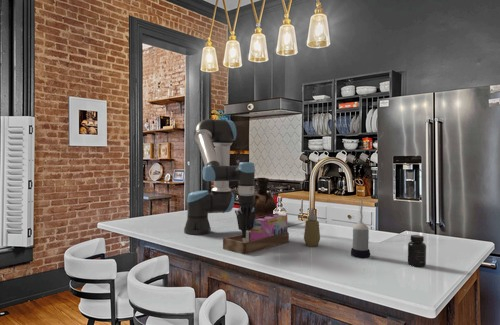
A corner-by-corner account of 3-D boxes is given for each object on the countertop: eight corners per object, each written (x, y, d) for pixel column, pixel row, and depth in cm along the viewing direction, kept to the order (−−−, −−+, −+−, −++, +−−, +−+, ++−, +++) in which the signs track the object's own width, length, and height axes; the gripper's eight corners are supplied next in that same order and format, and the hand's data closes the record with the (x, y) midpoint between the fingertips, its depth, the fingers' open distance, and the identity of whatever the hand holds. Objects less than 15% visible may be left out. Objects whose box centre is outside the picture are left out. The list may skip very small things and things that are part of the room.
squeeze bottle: (321, 244, 184) (321, 208, 183) (318, 248, 176) (319, 210, 176) (305, 242, 186) (305, 207, 186) (302, 246, 179) (302, 209, 178)
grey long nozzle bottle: (373, 256, 163) (374, 200, 162) (364, 259, 157) (365, 201, 157) (356, 252, 169) (357, 198, 168) (347, 255, 163) (348, 199, 163)
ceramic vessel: (262, 219, 255) (262, 176, 254) (282, 222, 243) (283, 177, 242) (241, 223, 239) (242, 177, 239) (261, 226, 227) (262, 178, 227)
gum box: (276, 238, 197) (277, 212, 197) (289, 240, 192) (289, 214, 192) (249, 246, 178) (249, 218, 178) (262, 248, 173) (263, 220, 173)
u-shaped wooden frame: (222, 248, 172) (223, 238, 172) (267, 237, 196) (267, 228, 196) (244, 254, 163) (244, 243, 162) (288, 242, 187) (288, 232, 187)
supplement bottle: (404, 262, 153) (404, 234, 153) (419, 262, 153) (420, 234, 153) (413, 267, 146) (413, 237, 146) (429, 267, 147) (429, 237, 146)
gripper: (242, 196, 166) (241, 248, 166) (261, 194, 175) (260, 243, 176) (230, 195, 171) (230, 245, 171) (249, 193, 180) (249, 240, 181)
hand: (245, 244), depth 173 cm, fingers closed
